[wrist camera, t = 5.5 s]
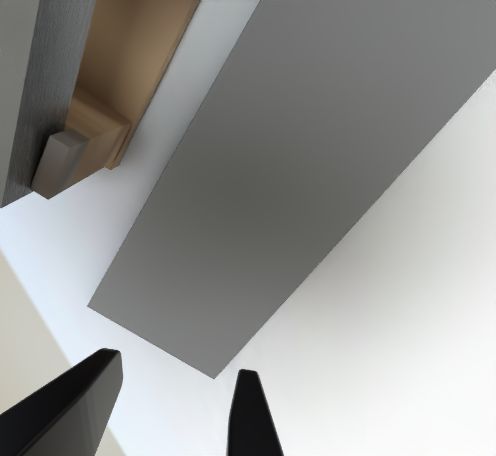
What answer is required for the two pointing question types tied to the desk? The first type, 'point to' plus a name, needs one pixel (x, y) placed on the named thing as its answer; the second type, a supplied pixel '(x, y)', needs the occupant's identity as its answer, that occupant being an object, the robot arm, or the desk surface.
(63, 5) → the rail
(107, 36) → the standards
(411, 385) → the desk surface
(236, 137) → the mat
